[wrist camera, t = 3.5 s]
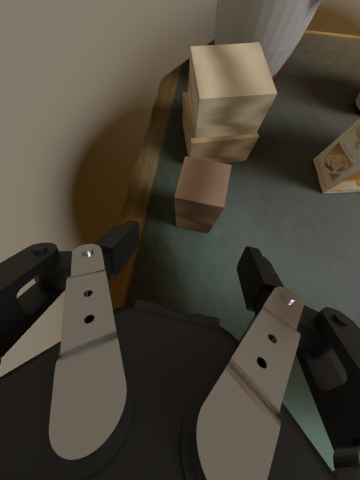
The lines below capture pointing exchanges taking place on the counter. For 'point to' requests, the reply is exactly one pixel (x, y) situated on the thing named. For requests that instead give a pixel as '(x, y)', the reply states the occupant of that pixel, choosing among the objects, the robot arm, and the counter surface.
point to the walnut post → (200, 193)
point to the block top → (229, 89)
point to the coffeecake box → (340, 163)
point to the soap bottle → (358, 101)
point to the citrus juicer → (264, 25)
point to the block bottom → (215, 142)
